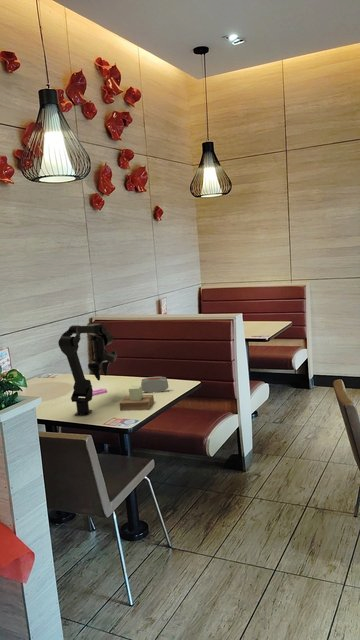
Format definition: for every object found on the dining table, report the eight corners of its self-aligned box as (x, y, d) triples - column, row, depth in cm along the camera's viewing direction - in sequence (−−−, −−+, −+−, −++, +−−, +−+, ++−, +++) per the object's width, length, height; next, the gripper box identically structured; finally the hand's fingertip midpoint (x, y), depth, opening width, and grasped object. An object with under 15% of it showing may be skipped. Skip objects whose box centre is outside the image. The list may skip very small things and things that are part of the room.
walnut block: (148, 410, 244) (147, 402, 243) (120, 411, 246) (119, 403, 246) (153, 402, 256) (153, 394, 255) (126, 403, 258) (126, 395, 257)
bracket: (86, 397, 273) (84, 385, 272) (82, 395, 277) (80, 383, 276) (108, 392, 279) (107, 380, 278) (104, 390, 284) (103, 378, 283)
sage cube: (139, 400, 247) (138, 388, 246) (130, 400, 248) (128, 388, 247) (143, 397, 252) (141, 385, 251) (133, 397, 253) (131, 385, 252)
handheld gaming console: (168, 390, 273) (167, 375, 272) (168, 391, 270) (167, 377, 269) (141, 392, 274) (140, 377, 273) (141, 393, 271) (139, 379, 270)
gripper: (107, 351, 249) (110, 382, 251) (120, 343, 267) (123, 372, 269) (85, 352, 252) (89, 383, 254) (100, 344, 270) (103, 373, 272)
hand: (102, 377), depth 262 cm, fingers open, 9 cm apart
